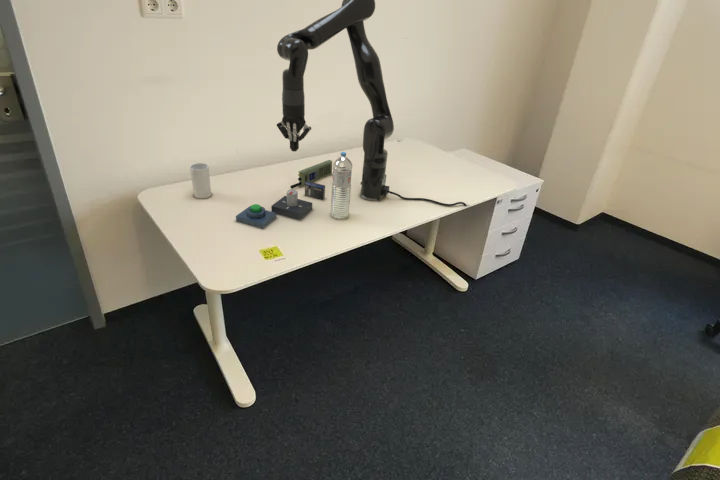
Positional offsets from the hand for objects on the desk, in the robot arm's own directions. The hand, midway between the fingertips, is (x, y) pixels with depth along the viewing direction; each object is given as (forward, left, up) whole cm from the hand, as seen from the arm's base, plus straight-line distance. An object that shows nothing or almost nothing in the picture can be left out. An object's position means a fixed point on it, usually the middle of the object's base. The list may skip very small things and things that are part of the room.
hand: (294, 150), depth 154 cm
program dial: (-2, +5, -19) cm, 20 cm away
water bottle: (-19, -1, -23) cm, 29 cm away
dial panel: (-2, +5, -22) cm, 23 cm away
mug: (+36, +10, -22) cm, 44 cm away
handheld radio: (+4, -23, -23) cm, 33 cm away
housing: (+6, +17, -22) cm, 29 cm away
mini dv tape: (-4, -10, -23) cm, 25 cm away
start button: (+6, +17, -19) cm, 26 cm away
